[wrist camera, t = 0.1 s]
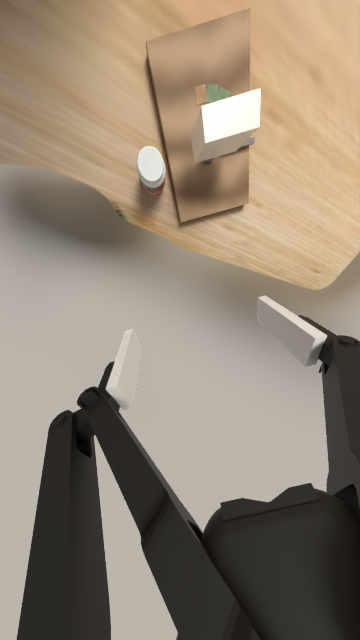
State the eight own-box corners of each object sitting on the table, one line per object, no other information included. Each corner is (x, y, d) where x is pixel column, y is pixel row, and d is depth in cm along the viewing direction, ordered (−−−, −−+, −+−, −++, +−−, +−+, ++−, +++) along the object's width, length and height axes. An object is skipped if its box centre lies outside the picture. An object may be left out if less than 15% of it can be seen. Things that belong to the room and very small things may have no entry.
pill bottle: (167, 192, 32) (168, 182, 24) (144, 196, 31) (140, 187, 24) (162, 161, 29) (162, 139, 22) (137, 165, 29) (130, 144, 22)
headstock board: (147, 55, 23) (145, 40, 21) (243, 24, 22) (250, 7, 21) (180, 222, 35) (181, 222, 33) (244, 204, 34) (248, 203, 32)
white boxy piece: (187, 149, 27) (201, 105, 17) (252, 129, 27) (304, 74, 17) (190, 171, 28) (205, 143, 19) (252, 153, 28) (299, 115, 19)
